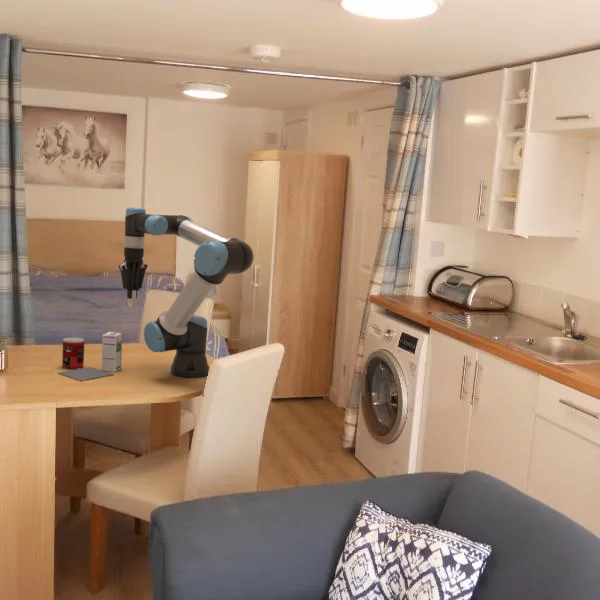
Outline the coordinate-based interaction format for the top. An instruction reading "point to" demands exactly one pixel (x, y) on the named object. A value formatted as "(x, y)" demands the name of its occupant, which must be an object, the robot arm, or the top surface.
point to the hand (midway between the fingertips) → (131, 306)
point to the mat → (86, 373)
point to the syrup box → (111, 351)
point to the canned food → (73, 353)
